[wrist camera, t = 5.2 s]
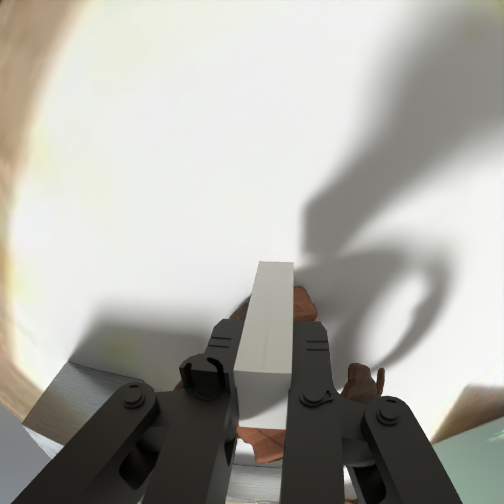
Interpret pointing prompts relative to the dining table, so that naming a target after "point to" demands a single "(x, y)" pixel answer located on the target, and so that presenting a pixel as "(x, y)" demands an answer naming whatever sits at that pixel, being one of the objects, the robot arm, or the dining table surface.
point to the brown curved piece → (356, 389)
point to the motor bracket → (92, 398)
